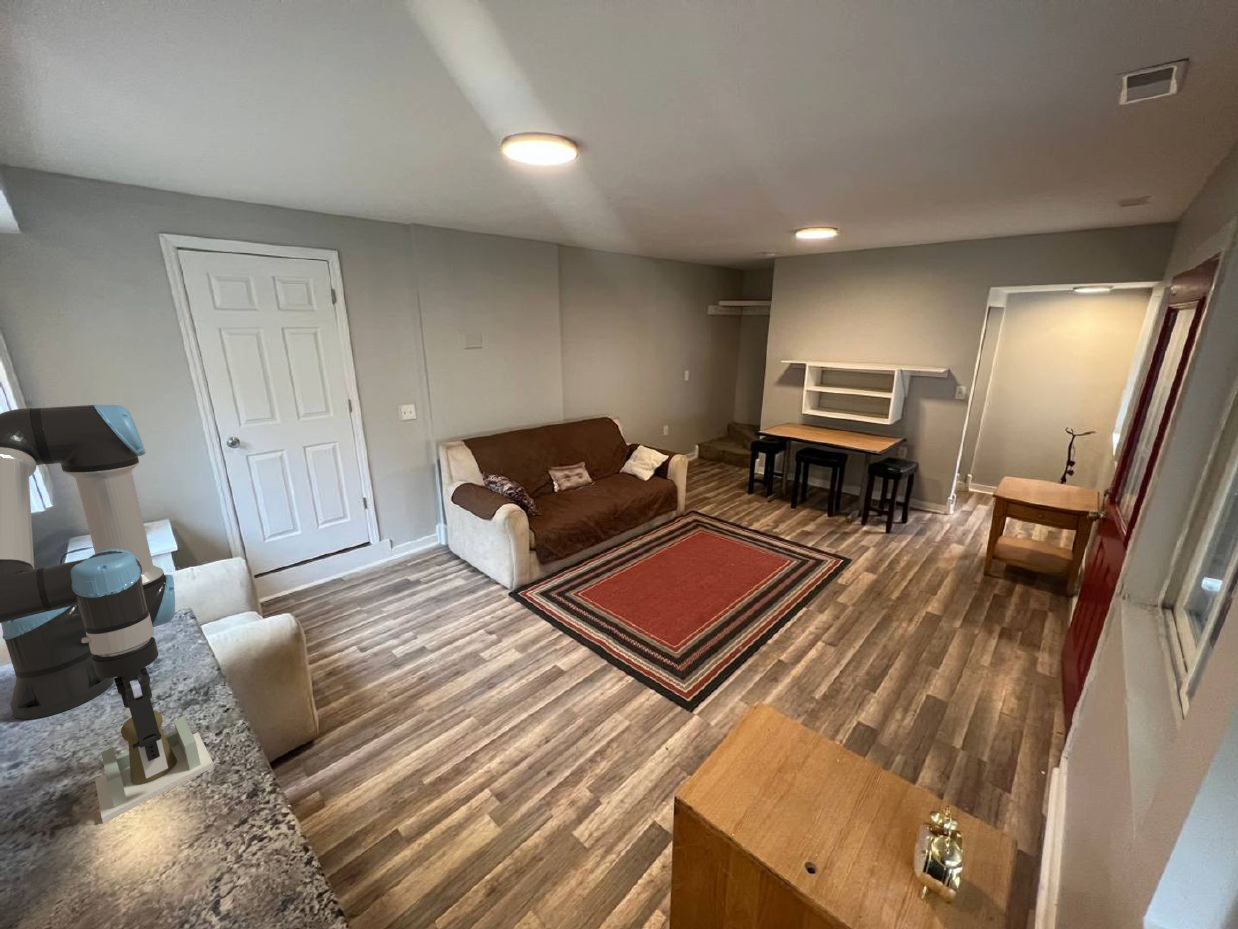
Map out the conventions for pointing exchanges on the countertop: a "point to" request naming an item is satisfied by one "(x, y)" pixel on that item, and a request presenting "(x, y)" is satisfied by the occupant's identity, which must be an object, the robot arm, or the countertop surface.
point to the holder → (125, 795)
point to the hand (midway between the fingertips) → (150, 752)
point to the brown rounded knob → (134, 754)
